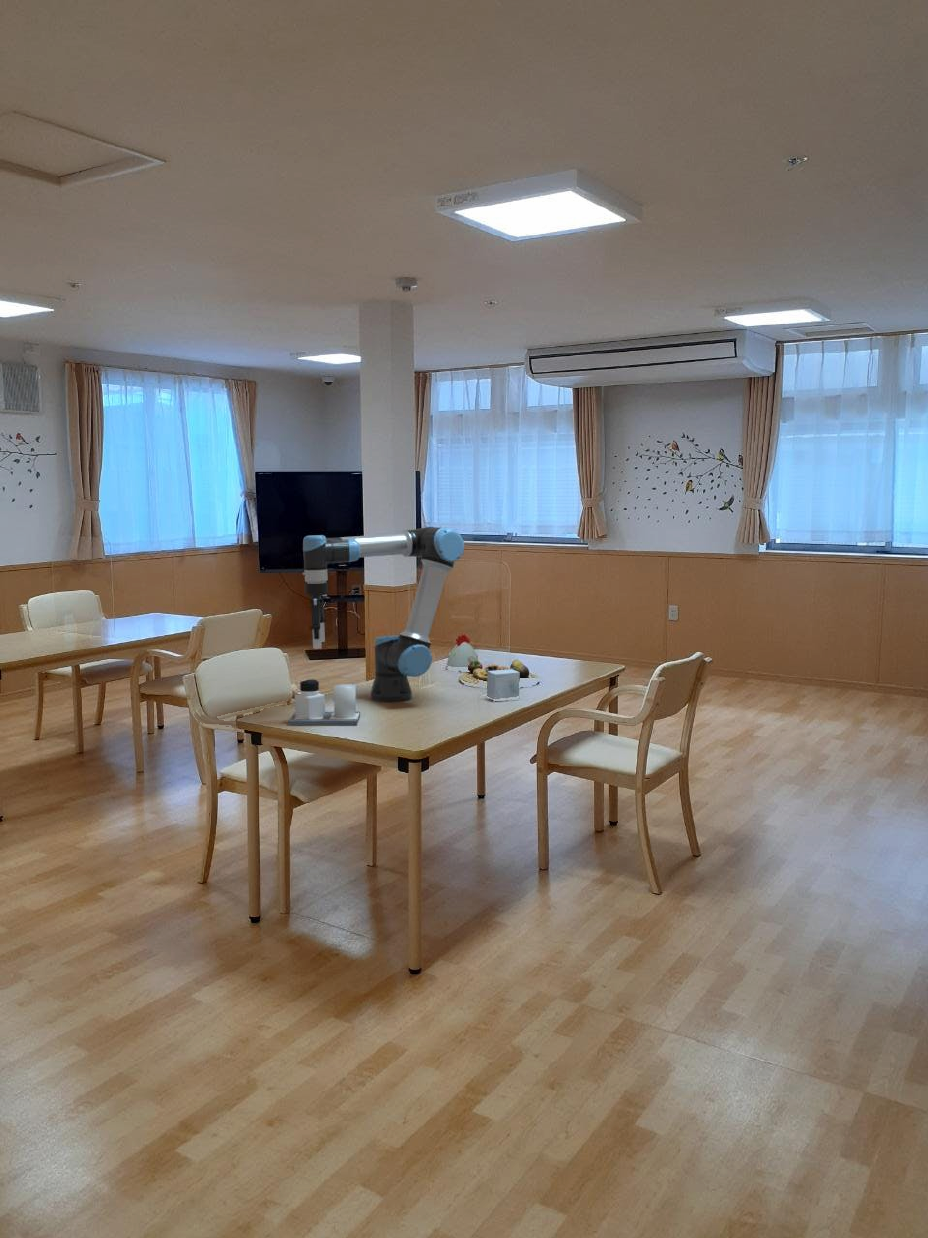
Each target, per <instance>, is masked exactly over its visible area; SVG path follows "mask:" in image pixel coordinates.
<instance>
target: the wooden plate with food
mask: <svg viewBox="0 0 928 1238" xmlns="http://www.w3.org/2000/svg"><path fill="white" fill-rule="evenodd" d="M509 669H513V670H515V671H518V672H520V678H530V677H529V675H530V676H531V677H532V678H539V679H540V677H539V676H537V674H534V673H530V670H529V668H528V667H527V666H526V665H524V664H523V663H522V661H520V660H518V659H514V660H513V661H512V663H511V664H510V666H509V668H508V667H506V666H499V665H498V664H491V665H487V666H486V667H485V668H484V669H483V664H482V663H481V662H480V661H479V660H478V661H477V660H473V661H471V663H470V664H469V665H468V670H469V671H470V672H463V673H462V674H461V675H460V676H459V678H461V679H462V680H463V681H465V682H469V683H474V684H478V683H479V681H478V679H479V680H483V681H487V671H495V670H509ZM470 674H471V675H470ZM468 675H469V676H468ZM467 678H469V679H471V680H473V681H471V680H469V679H467ZM475 681H477V682H475Z"/></svg>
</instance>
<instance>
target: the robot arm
mask: <svg viewBox="0 0 928 1238" xmlns="http://www.w3.org/2000/svg"><path fill="white" fill-rule="evenodd" d="M302 541H303V542H302V551H303V569H304V572H302V575H303V576H304V581H305V582H306V583H305V584H304V593H305V595H308V596H312V598H311V600H310V607H311V608H310V609H311V626H309V629H310V630H312V631H311V632H312V648H313V650H319V649H320V650H321V649H322V643H325V642H326V640H325V639H326V635H325V623H327V618H325V614H324V613H325V612H324V598H323V595H327V594H328V593H329V585H328V584H329V583H328V582H327V581H328V580H329V577H328V564H335V563H351V562H356V561H358V560H359V559H360V558H369V557H383V556H397V555H398V556H399V555H402V556H403V557H405V558H408V557H409V558H410V557H411V558H412V557H414V558H415V557H416V558H421V559H420V560H421V563H422V565H423V568H422V571H421V575H420V578H419V582H418V586H417V589H416V592H415V595H414V598H413V602H412V606H411V608H410V609H411V610H410V612H409V616H408V620H407V623H406V627H405V629H404V631H402V632H400V633H399V634H398V635H395V634H393V635H385V636H384V635H382V636H377V637H376V638H375V640H374V680H373V684H372V686H371V689H370V699H371V700H373V701H378V702H389V703H390V702H402V701H407V700H412V697H413V691H412V689H411V685H410V681H409V680H408V677H412V678H413V677H414V678H415V677H416V678H417V677H420V676H422V675H424V674H425V673H427V672H428V670H429V669H430V667H431V666H432V662H433V655H432V651H431V650H430V647H431V645H432V641H431V640H430V637H429V636H430V633H431V630H432V625H433V622H434V620H435V615H436V612H437V609H438V605H439V601H440V598H441V595H442V590H443V589H444V584H445V581H446V578H447V573H449V572H450V571H452V570H453V568H454V565H455V562H456V561H458V560H459V559H461V558H462V556H463V553H464V551H465V541H464V539H463V537H462V535H461V533H459V532H458V531H457V530H455V529H454V528H449V527H435V526H427V527H426V526H425V527H422V528H421V527H420V528H417V529H416V528H415V529H406V530H402V531H401V532H400V533H390V534H389V533H388V534H373V535H360V536H359V535H357V536H344V537H343V536H342V537H326V536H325V535H323V534H319V535H317V534H316V535H315V534H314V535H306V536H304V538H303V540H302Z"/></svg>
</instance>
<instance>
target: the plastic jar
mask: <svg viewBox="0 0 928 1238" xmlns="http://www.w3.org/2000/svg"><path fill="white" fill-rule="evenodd" d="M333 687H334V688H333V691H334V692H333V697H334V699H333V700H334V701H333V702H334V703H333V708H334V709H333V710H334V711H333V712H334V716H335V717H337V718H352V717H355V716H356V712H357V711H356V709H357V708H356V707H357V706H356V705H357V703H356V700H357V699H356V698H357V696H356V695H357V693H356V691H357V689H356V688H357V686H356V685H355V684H353V683H352V684H351V683H340V684H334V686H333Z"/></svg>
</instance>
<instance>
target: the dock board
mask: <svg viewBox="0 0 928 1238" xmlns="http://www.w3.org/2000/svg"><path fill="white" fill-rule="evenodd" d="M360 718H361V711H356V716H355V717H352V718H337V717H335V716H334V711H325V715H324V716H320V717H316V718H311V719H306V718H302V717H298V716H295V711H294V712H293V714H292V715H291V717H290V718H289V720H288V726H289V725H299V727H301V726H302V727H303V726H304V727H305V726H307V727H309V726H311V727H313V726H315V727H316V726H321V727H322V726H325V727H326V726H329V727H330V726H333V727H335V726H339V727H341V726H342V727H343V726H347V727H348V726H352V727H353V726H354V727H355V726H358V723H359V720H360Z"/></svg>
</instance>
